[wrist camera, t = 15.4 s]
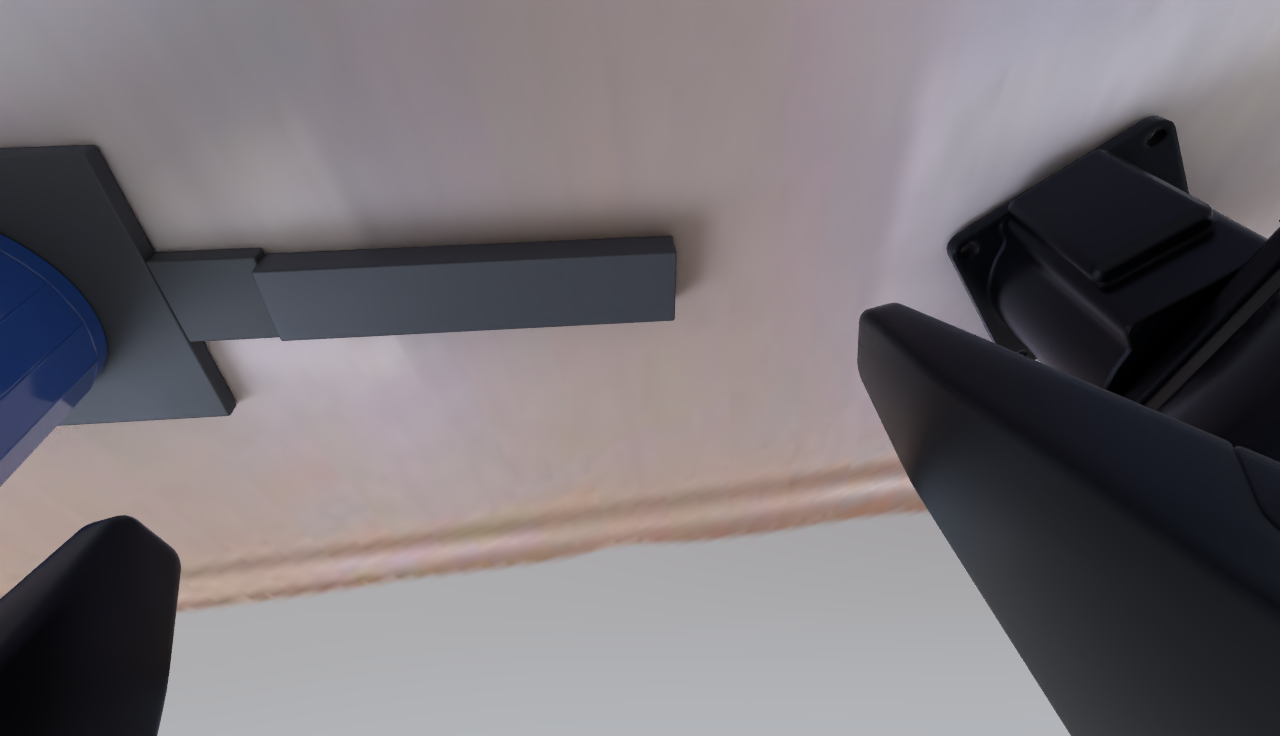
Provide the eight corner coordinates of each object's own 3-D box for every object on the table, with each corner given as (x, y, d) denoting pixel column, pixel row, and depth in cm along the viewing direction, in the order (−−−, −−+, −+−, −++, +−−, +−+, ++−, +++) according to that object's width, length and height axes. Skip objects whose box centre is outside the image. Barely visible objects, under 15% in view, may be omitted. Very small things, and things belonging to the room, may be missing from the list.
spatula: (675, 123, 17) (680, 137, 16) (668, 379, 23) (672, 400, 22) (-365, 160, 16) (-420, 177, 15) (-100, 424, 21) (-128, 447, 20)
